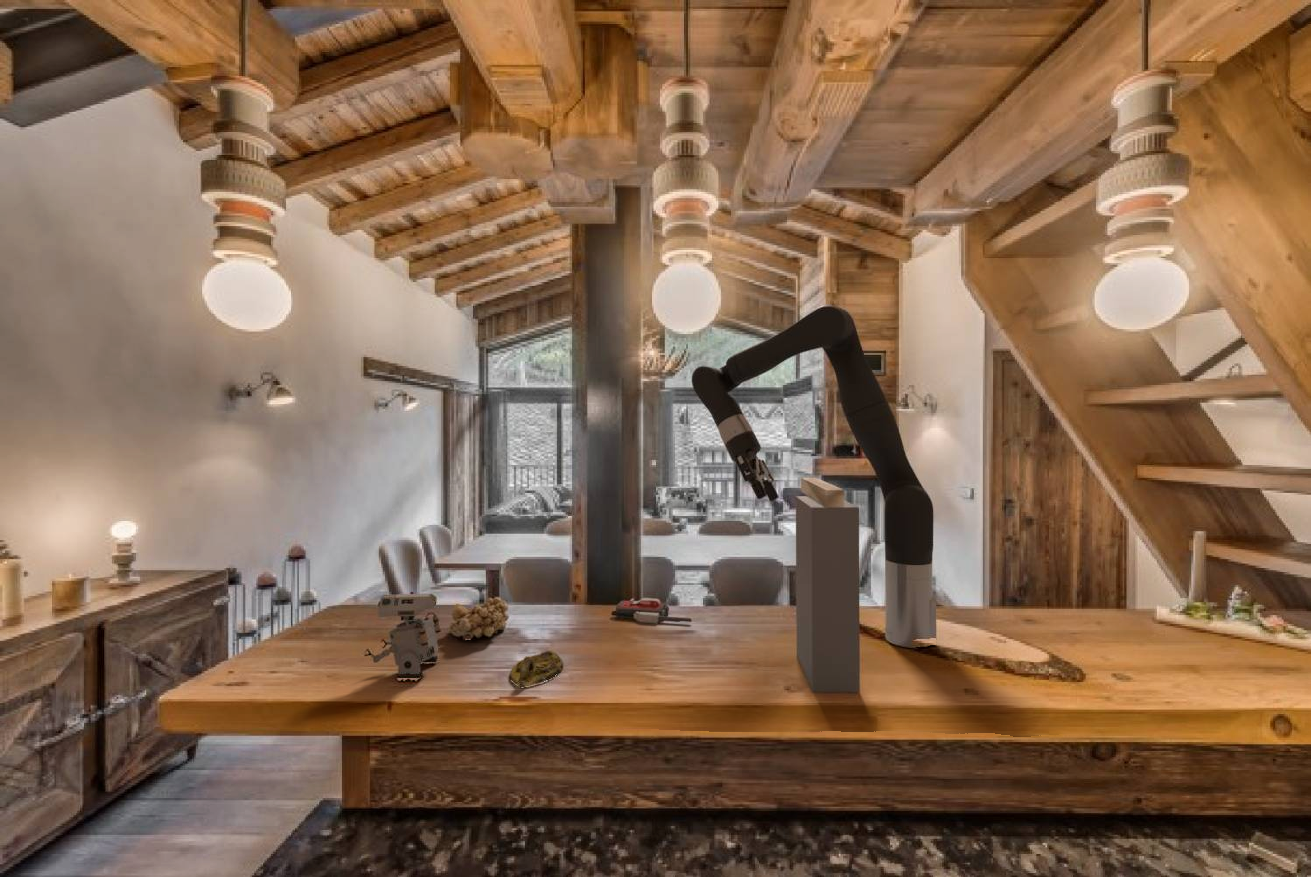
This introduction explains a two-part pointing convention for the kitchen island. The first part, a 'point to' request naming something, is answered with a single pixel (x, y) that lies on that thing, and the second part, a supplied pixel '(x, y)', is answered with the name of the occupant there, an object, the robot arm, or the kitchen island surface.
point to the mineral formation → (479, 619)
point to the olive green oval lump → (536, 669)
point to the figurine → (410, 632)
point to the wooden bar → (823, 492)
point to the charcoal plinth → (828, 595)
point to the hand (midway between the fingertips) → (768, 498)
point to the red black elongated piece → (645, 611)
